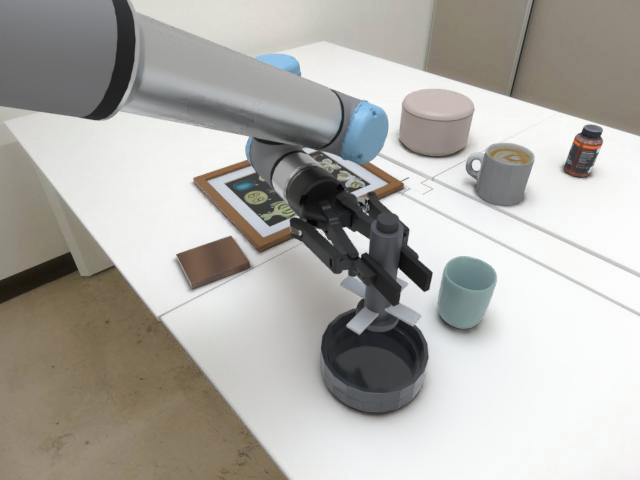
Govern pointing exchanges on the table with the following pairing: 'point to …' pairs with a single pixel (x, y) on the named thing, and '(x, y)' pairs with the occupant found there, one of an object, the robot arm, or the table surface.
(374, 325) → the blade
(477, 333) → the table surface
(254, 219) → the wall art
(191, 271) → the board
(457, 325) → the cup
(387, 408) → the processor bowl
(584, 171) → the supplement bottle
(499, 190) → the coffee mug
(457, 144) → the container
